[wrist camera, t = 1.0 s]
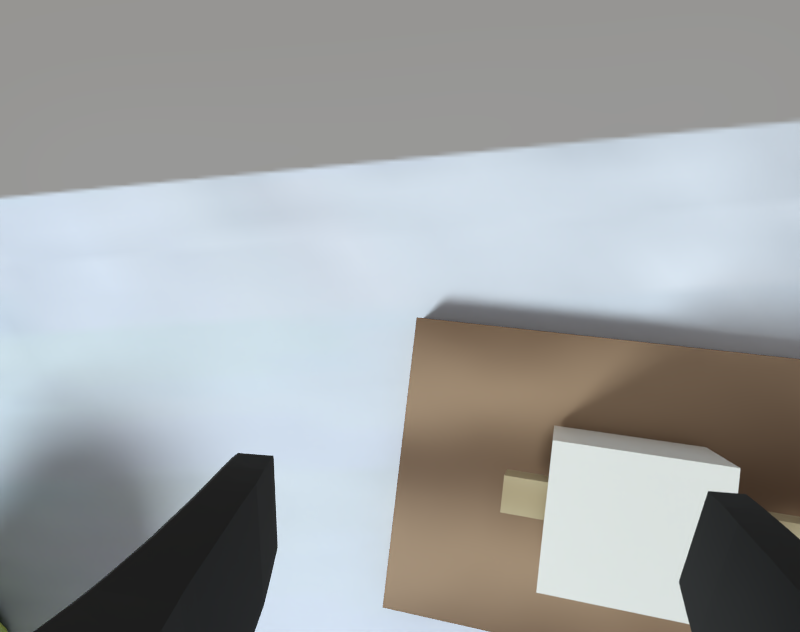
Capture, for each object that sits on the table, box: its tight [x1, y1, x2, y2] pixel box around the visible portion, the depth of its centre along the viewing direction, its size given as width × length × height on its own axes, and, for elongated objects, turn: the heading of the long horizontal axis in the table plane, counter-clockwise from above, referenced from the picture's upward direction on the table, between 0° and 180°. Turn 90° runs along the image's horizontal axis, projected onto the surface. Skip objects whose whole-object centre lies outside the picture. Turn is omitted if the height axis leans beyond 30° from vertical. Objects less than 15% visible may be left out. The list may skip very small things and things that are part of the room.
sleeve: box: [536, 425, 740, 624], centre depth 20 cm, size 4×5×4 cm
